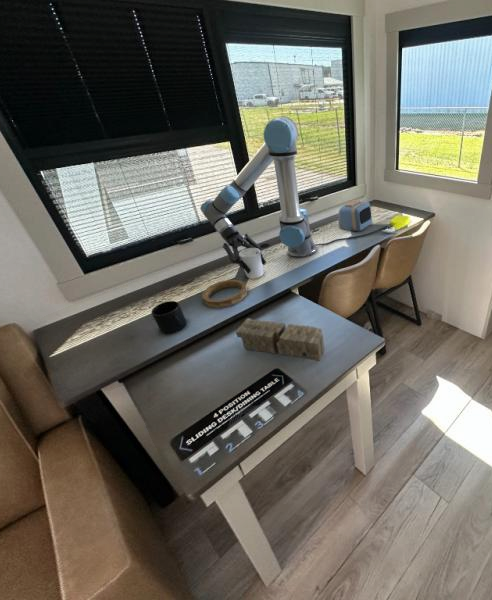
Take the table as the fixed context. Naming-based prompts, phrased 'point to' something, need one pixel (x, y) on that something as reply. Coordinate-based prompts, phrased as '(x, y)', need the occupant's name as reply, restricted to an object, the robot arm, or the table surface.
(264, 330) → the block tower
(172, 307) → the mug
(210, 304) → the stand
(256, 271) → the white cup
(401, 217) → the spray bottle
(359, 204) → the alarm clock
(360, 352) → the table surface
